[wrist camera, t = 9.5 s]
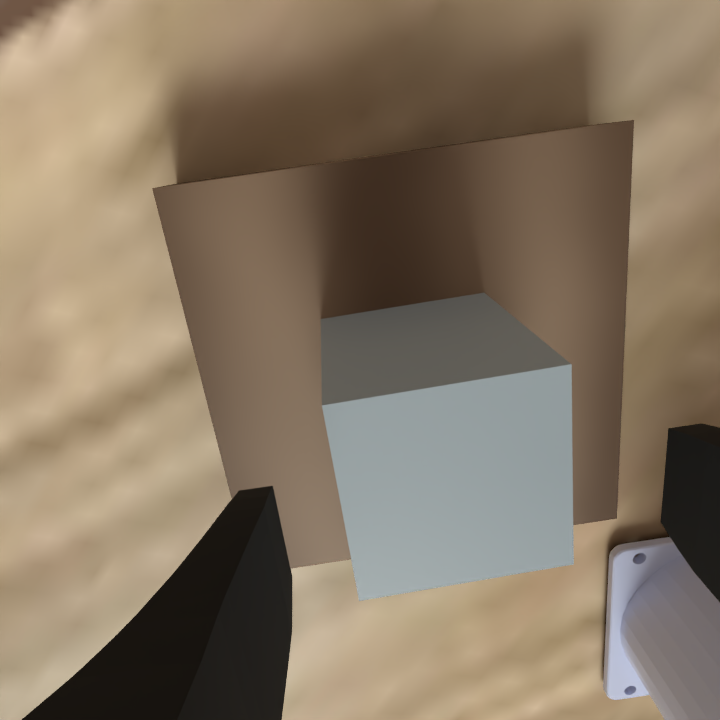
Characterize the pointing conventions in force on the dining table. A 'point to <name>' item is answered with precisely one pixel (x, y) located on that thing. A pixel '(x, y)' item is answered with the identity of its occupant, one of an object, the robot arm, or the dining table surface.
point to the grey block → (447, 444)
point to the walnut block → (400, 292)
